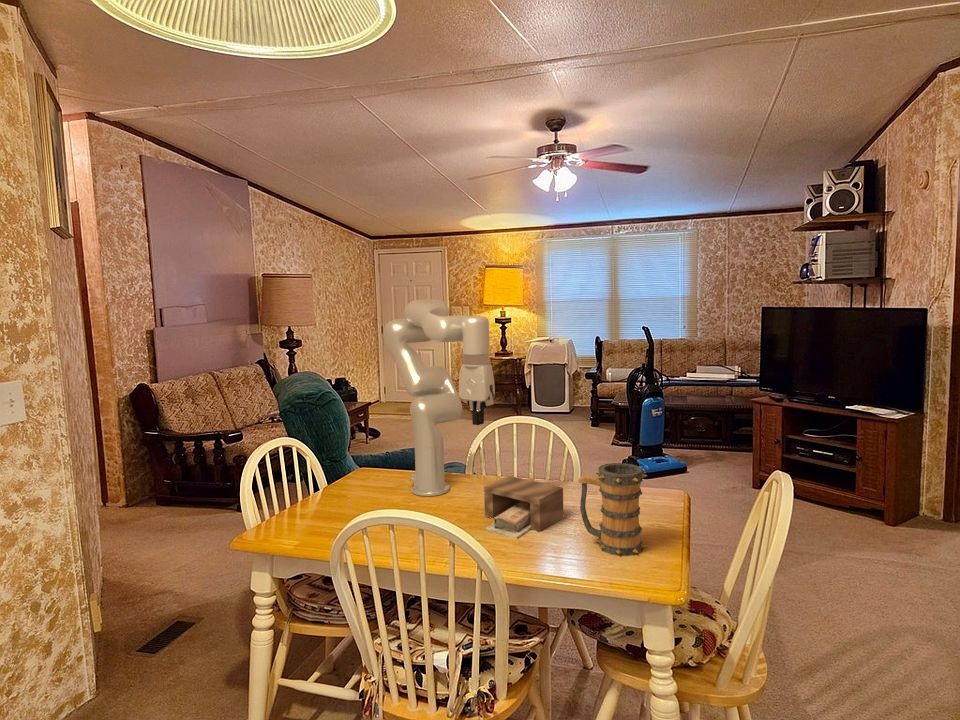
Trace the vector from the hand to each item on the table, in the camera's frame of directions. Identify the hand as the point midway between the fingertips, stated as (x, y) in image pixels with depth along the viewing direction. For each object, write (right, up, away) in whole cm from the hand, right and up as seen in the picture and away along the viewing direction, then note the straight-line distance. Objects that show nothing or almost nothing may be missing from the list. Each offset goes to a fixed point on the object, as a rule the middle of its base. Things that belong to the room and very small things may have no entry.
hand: (478, 424), depth 167 cm
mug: (+34, -29, -20) cm, 49 cm away
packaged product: (+11, -28, -4) cm, 30 cm away
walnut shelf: (+13, -27, 0) cm, 30 cm away
